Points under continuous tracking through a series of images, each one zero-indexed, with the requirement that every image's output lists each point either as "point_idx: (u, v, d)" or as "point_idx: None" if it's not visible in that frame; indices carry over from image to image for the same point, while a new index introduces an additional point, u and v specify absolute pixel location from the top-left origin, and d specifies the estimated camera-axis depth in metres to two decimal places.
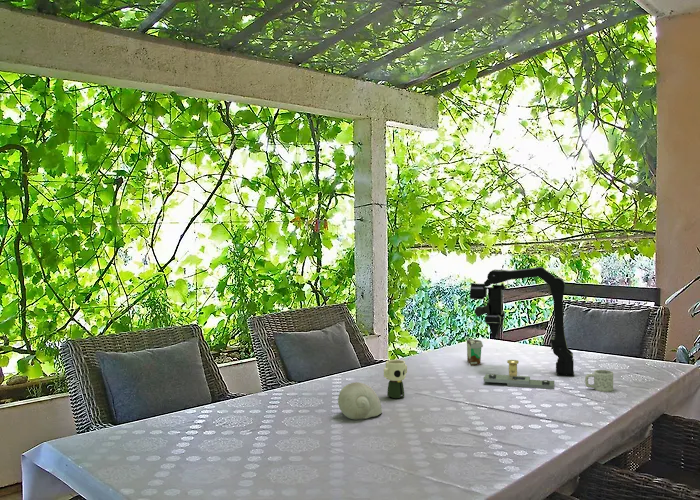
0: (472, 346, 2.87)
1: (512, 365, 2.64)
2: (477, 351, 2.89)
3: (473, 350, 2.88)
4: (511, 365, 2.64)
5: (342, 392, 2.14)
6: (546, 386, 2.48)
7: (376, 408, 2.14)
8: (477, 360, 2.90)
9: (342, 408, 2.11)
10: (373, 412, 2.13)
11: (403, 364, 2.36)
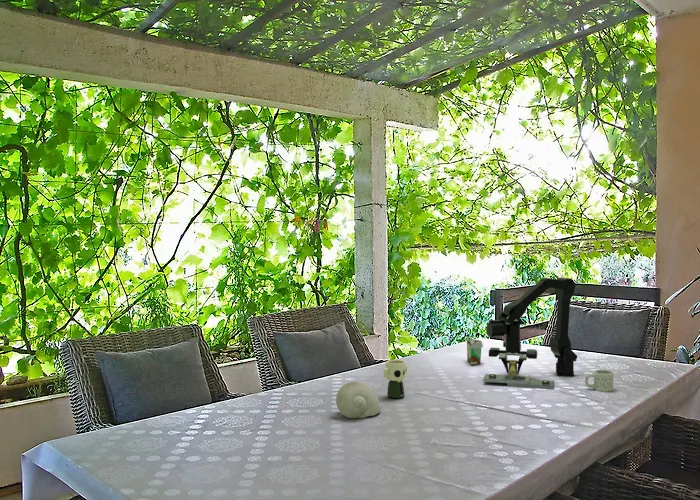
0: (472, 346, 2.87)
1: (512, 365, 2.64)
2: (477, 351, 2.89)
3: (473, 350, 2.88)
4: (511, 365, 2.64)
5: (340, 391, 2.15)
6: (546, 386, 2.48)
7: (373, 407, 2.14)
8: (477, 360, 2.90)
9: (339, 407, 2.13)
10: (370, 411, 2.13)
11: (403, 364, 2.36)
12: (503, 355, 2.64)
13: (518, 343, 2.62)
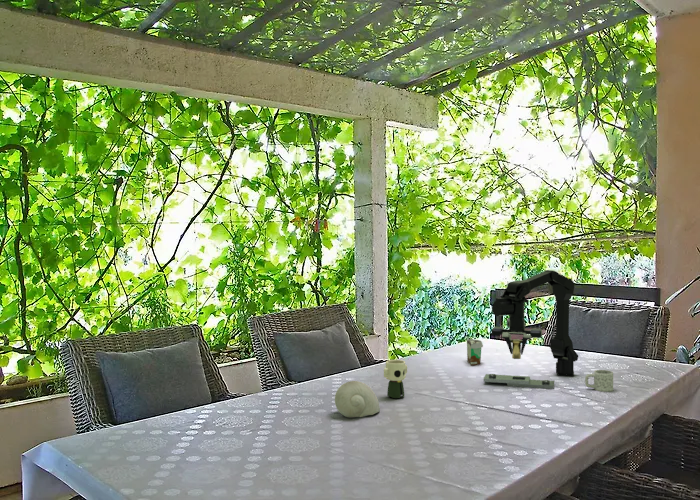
0: (472, 346, 2.87)
1: (516, 344, 2.55)
2: (477, 351, 2.89)
3: (473, 350, 2.88)
4: (515, 344, 2.55)
5: (338, 390, 2.17)
6: (546, 386, 2.48)
7: (371, 407, 2.15)
8: (477, 360, 2.90)
9: (337, 406, 2.14)
10: (368, 411, 2.14)
11: (403, 364, 2.36)
12: (506, 334, 2.56)
13: (522, 322, 2.54)
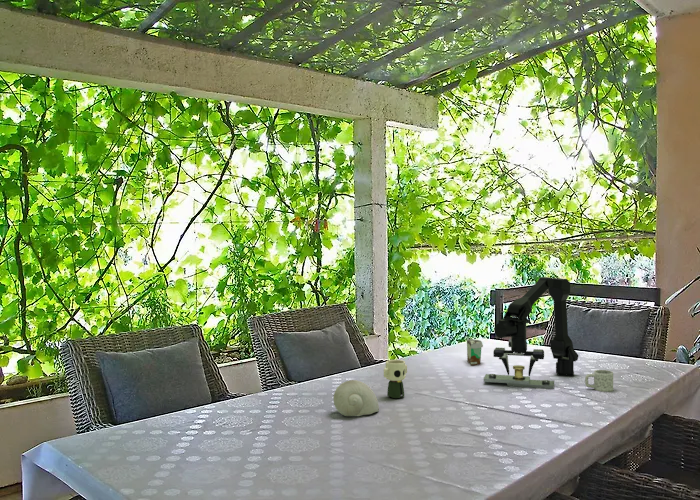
0: (472, 346, 2.87)
1: (518, 371, 2.53)
2: (477, 351, 2.89)
3: (473, 350, 2.88)
4: (517, 371, 2.53)
5: (337, 389, 2.18)
6: (546, 386, 2.48)
7: (369, 406, 2.16)
8: (477, 360, 2.90)
9: (335, 404, 2.15)
10: (366, 410, 2.15)
11: (403, 364, 2.36)
12: None
13: (524, 343, 2.52)
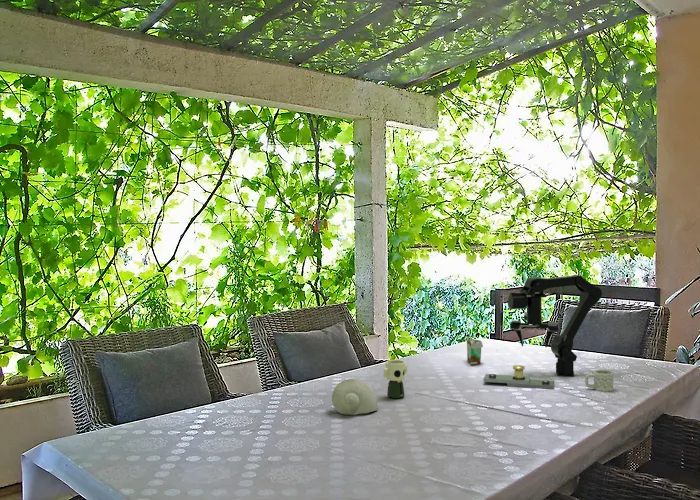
0: (472, 346, 2.87)
1: (518, 371, 2.53)
2: (477, 351, 2.89)
3: (473, 350, 2.88)
4: (517, 371, 2.53)
5: (335, 387, 2.20)
6: (546, 386, 2.48)
7: (367, 405, 2.17)
8: (477, 360, 2.90)
9: (333, 402, 2.18)
10: (363, 409, 2.16)
11: (403, 364, 2.36)
12: None
13: (539, 315, 2.65)
